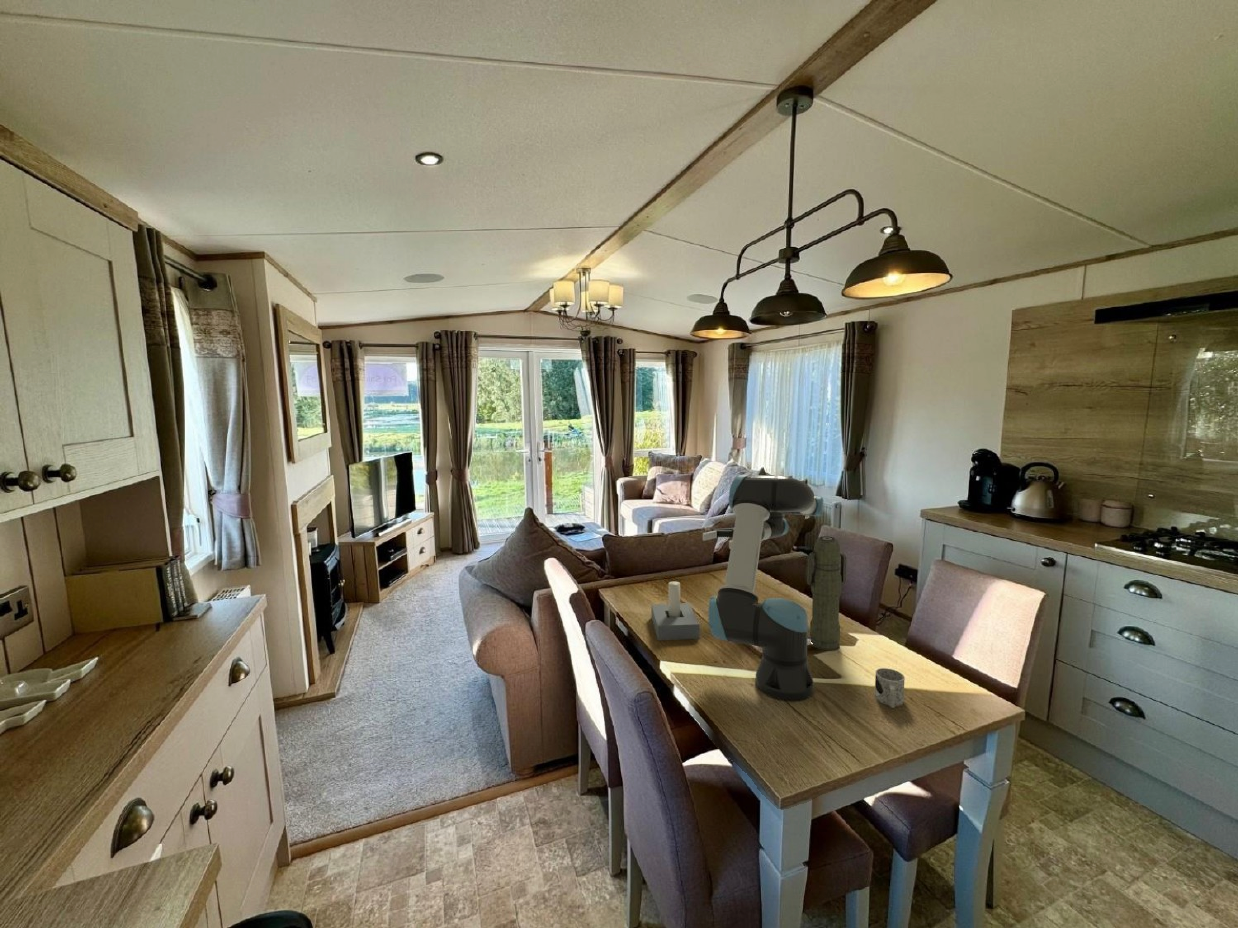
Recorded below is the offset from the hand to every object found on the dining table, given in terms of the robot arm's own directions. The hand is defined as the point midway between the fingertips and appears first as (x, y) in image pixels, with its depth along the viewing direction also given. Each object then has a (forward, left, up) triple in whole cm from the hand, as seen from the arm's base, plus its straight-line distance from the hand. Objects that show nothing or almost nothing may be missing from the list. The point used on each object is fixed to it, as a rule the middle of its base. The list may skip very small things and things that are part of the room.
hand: (716, 540), depth 182 cm
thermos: (-26, -29, -28) cm, 48 cm away
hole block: (-9, +17, -28) cm, 34 cm away
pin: (-9, +17, -27) cm, 33 cm away
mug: (-58, -31, -28) cm, 72 cm away
